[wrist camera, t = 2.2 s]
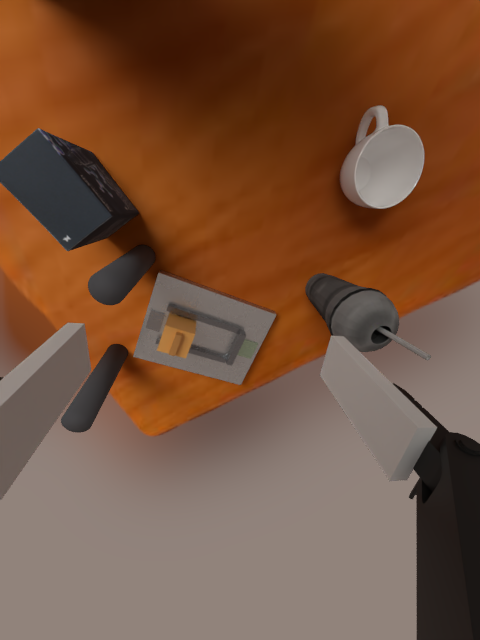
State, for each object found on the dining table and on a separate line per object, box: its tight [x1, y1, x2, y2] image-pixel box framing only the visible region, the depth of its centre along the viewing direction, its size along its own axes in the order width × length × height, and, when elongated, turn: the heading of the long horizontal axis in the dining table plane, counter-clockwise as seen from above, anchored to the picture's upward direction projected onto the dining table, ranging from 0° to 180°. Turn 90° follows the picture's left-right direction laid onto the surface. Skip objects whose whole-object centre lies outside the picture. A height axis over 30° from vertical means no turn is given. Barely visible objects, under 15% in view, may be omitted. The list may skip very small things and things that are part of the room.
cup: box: [340, 105, 424, 209], centre depth 30 cm, size 8×10×7 cm
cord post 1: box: [88, 245, 155, 305], centre depth 28 cm, size 3×3×14 cm
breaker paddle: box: [157, 313, 196, 358], centre depth 35 cm, size 4×4×5 cm
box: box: [0, 128, 139, 251], centre depth 26 cm, size 8×6×11 cm
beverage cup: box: [306, 273, 431, 360], centre depth 30 cm, size 7×7×20 cm
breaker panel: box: [133, 270, 276, 385], centre depth 39 cm, size 18×14×3 cm
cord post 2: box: [61, 344, 128, 432], centre depth 34 cm, size 3×3×14 cm
